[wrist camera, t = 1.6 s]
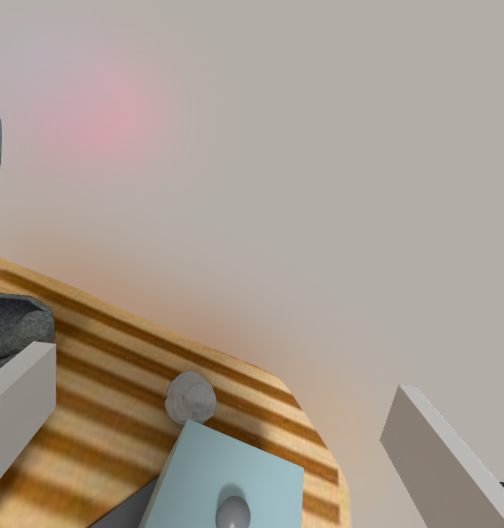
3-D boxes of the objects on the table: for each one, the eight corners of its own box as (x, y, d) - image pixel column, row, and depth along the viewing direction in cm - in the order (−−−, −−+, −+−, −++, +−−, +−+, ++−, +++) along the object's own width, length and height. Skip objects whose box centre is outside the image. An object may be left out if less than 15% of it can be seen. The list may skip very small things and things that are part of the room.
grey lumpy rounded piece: (162, 449, 35) (177, 419, 31) (155, 392, 40) (167, 360, 36) (212, 438, 38) (231, 410, 34) (200, 386, 43) (215, 356, 39)
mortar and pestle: (-78, 371, 32) (-107, 289, 26) (11, 319, 40) (6, 247, 34) (5, 430, 31) (-4, 359, 25) (80, 365, 39) (88, 299, 33)
